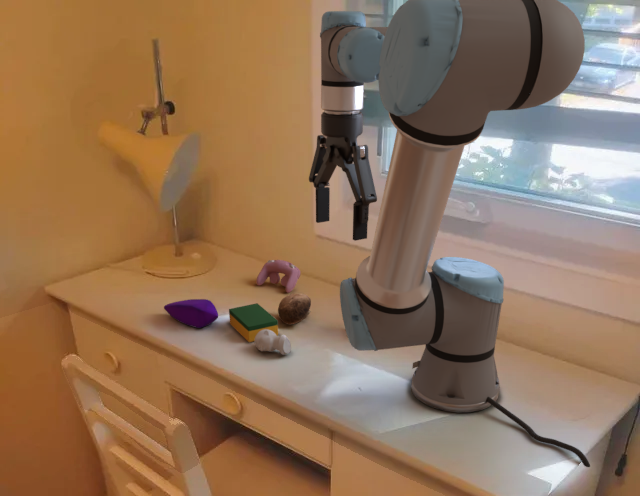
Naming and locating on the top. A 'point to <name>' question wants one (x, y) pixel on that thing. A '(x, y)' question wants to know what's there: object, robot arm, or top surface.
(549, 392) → the top surface
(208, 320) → the purple rounded wedge
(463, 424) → the top surface
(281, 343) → the smooth white sculpture
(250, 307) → the sponge
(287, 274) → the video game controller
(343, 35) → the robot arm
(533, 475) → the top surface
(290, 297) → the brown round lump
